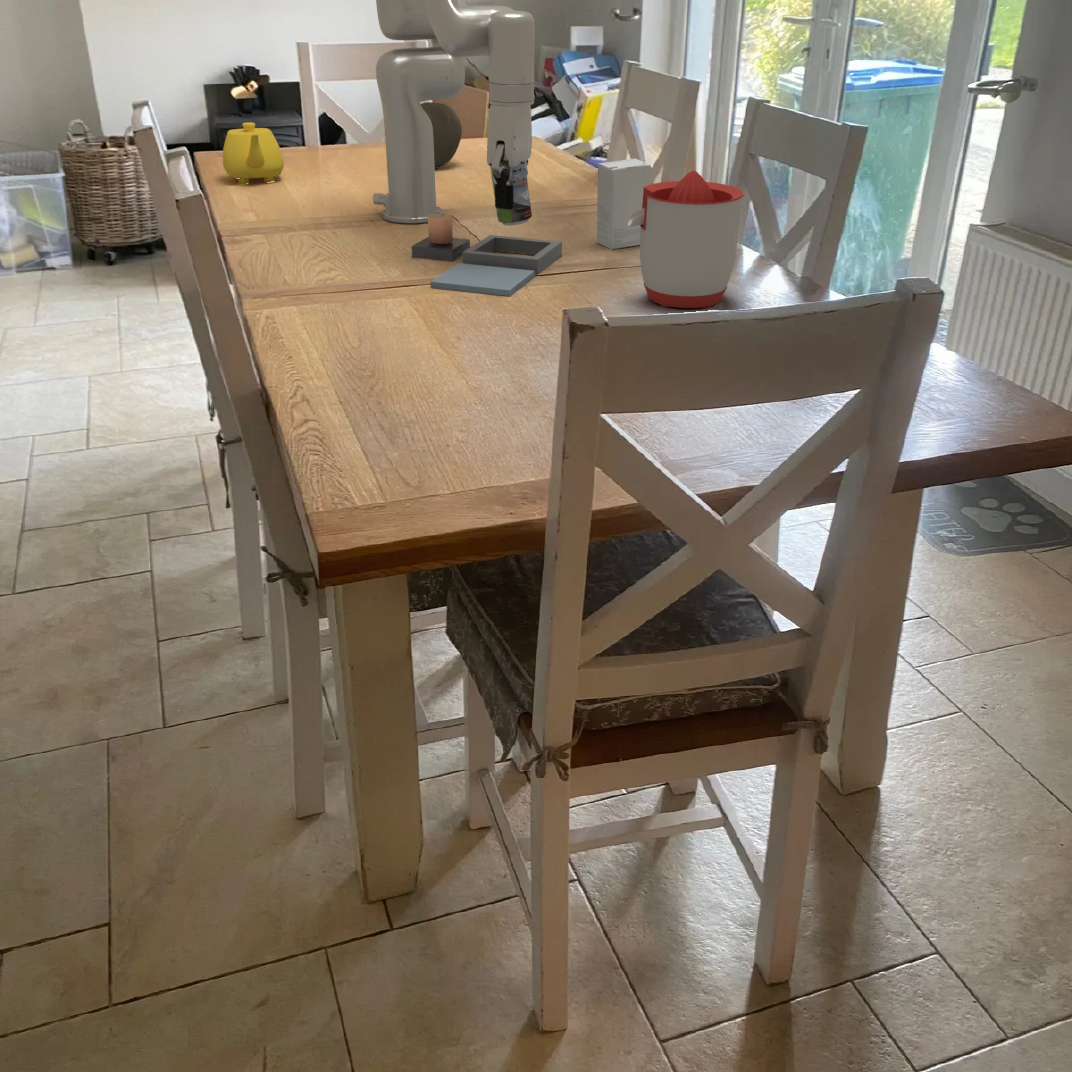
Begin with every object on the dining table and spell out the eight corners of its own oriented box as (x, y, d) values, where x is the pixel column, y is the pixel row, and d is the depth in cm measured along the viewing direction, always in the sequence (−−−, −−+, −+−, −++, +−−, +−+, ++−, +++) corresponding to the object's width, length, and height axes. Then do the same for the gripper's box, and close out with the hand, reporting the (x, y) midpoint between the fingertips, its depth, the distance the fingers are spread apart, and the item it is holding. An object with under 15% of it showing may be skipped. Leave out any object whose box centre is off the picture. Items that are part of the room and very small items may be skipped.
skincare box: (632, 238, 206) (636, 157, 198) (648, 245, 201) (653, 163, 193) (594, 243, 202) (596, 161, 195) (609, 250, 198) (612, 167, 190)
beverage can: (527, 229, 185) (528, 157, 179) (486, 227, 186) (485, 155, 180) (535, 220, 191) (536, 150, 184) (495, 218, 192) (494, 148, 186)
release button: (424, 242, 193) (423, 219, 191) (434, 236, 197) (433, 214, 195) (447, 244, 192) (446, 221, 190) (456, 238, 195) (456, 216, 193)
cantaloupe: (460, 172, 260) (458, 106, 252) (402, 172, 260) (398, 106, 253) (464, 161, 272) (462, 98, 265) (409, 161, 272) (405, 98, 265)
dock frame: (462, 266, 188) (462, 252, 187) (490, 248, 199) (490, 234, 197) (537, 274, 184) (537, 259, 183) (561, 255, 195) (561, 241, 193)
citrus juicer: (622, 284, 179) (628, 159, 169) (726, 285, 178) (738, 160, 168) (626, 313, 165) (632, 180, 155) (739, 315, 165) (752, 181, 155)
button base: (412, 257, 193) (411, 246, 192) (430, 246, 200) (430, 235, 199) (452, 261, 191) (452, 250, 190) (470, 250, 197) (469, 239, 196)
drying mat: (430, 287, 177) (430, 281, 176) (459, 268, 187) (459, 263, 186) (509, 296, 173) (509, 290, 172) (534, 276, 183) (534, 270, 182)
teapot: (280, 171, 261) (274, 116, 254) (291, 188, 244) (285, 129, 238) (222, 175, 257) (214, 118, 250) (230, 192, 240) (222, 132, 234)
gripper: (508, 85, 186) (508, 191, 195) (470, 99, 172) (472, 213, 181) (549, 88, 184) (547, 195, 193) (514, 102, 169) (513, 217, 179)
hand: (511, 203), depth 187 cm, fingers closed on beverage can, 6 cm apart
